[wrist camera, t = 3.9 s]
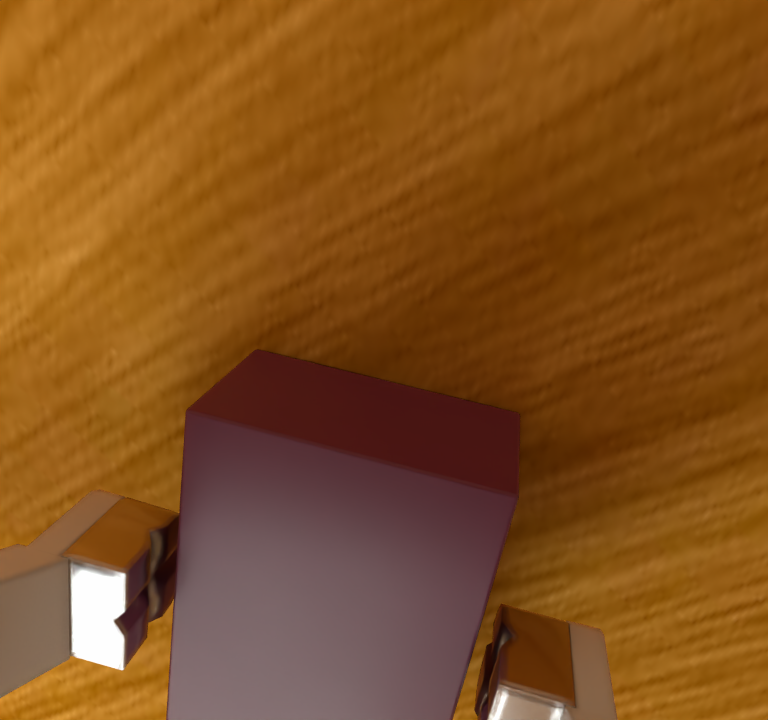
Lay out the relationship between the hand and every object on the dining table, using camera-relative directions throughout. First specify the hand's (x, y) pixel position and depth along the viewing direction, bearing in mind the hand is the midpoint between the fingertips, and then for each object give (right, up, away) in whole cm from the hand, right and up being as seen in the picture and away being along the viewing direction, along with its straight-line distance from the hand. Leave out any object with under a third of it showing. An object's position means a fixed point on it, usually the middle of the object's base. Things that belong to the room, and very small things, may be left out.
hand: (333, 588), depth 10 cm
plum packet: (0, +1, +1) cm, 2 cm away
